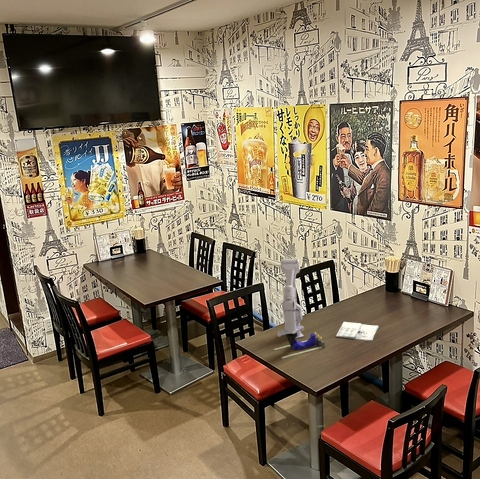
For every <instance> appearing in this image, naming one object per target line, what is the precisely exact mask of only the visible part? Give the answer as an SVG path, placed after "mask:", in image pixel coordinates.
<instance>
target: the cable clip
mask: <svg viewBox="0 0 480 479" xmlns="http://www.w3.org/2000/svg"><path fill="white" fill-rule="evenodd" d="M314 333H315V332H313V333H310V336H309V338H308V339H306V340H307V341H306V340H305V341H306V342H302V341H298V340H297V338H296V339H295V342H294V346H292V349H293V350H294V351H295V350H297V351H298V350H304V349H306V348H309V347H316V346H317V345H316V344H317V343H316V342H315V335H314Z"/></svg>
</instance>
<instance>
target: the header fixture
mask: <svg viewBox="0 0 480 479" xmlns="http://www.w3.org/2000/svg"><path fill="white" fill-rule="evenodd" d="M313 333H314V335H315V344H317V345H318V347H314V348H311V349H306V350H304V351H300V352H296V353H292V354H288V355H285V356H281V359H282V360H285V359H288V358H291V357H295V356H298V355H302V354H305V353H310V352H313V351H316V350H320V349H324V348H326V346H325V344H326V343H325V341H324V340H323V339H322V338H323V337H322V336H320V335H319V334H317V332H313ZM307 340H308V339H306V340H303V341H301V342H306V341H307ZM290 347H291V346H290V344H288V345H284V346H279V347H277V348H274V349H273V351H275V352H276V351H279V350H282V349H286V348H290Z"/></svg>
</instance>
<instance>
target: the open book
mask: <svg viewBox="0 0 480 479" xmlns="http://www.w3.org/2000/svg"><path fill="white" fill-rule="evenodd" d="M379 328H380V327H379V325H371V324H370V325H369V324H362V323H360V322H359V323H358V322H348V321H343V323H342V324H341V326H340V327H339V330H338V331H337V333H336V335H335V337H336V338H343V339H353V340H361V341H368V342H369V341H370V342H373V340H374V337H375V334H376V332H377V331H378V329H379Z"/></svg>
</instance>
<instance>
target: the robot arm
mask: <svg viewBox="0 0 480 479" xmlns="http://www.w3.org/2000/svg"><path fill="white" fill-rule="evenodd" d="M280 270H281V271H282V274H285V287H284V288H283V300H282V304H281V305H282V311H283V319H284V329H281V330H279V331H277V332H276V334H277V337H279V338H280V337H282V336H285V337H286V338H287V340H288V343H289V345H290V347H292V346H294V342H295V339H296V340H297V339H299V338H303V337H305V335H304V334H303V333H302V332H304V331H305V327H304V326H303V325H301V321H302V320H303V310H302V305H300V304H298V302H297V282H296V276H297V274H299V273H300V271H301V269H300V258H281V260H280ZM301 331H302V332H301ZM292 348H293V347H292Z"/></svg>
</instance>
